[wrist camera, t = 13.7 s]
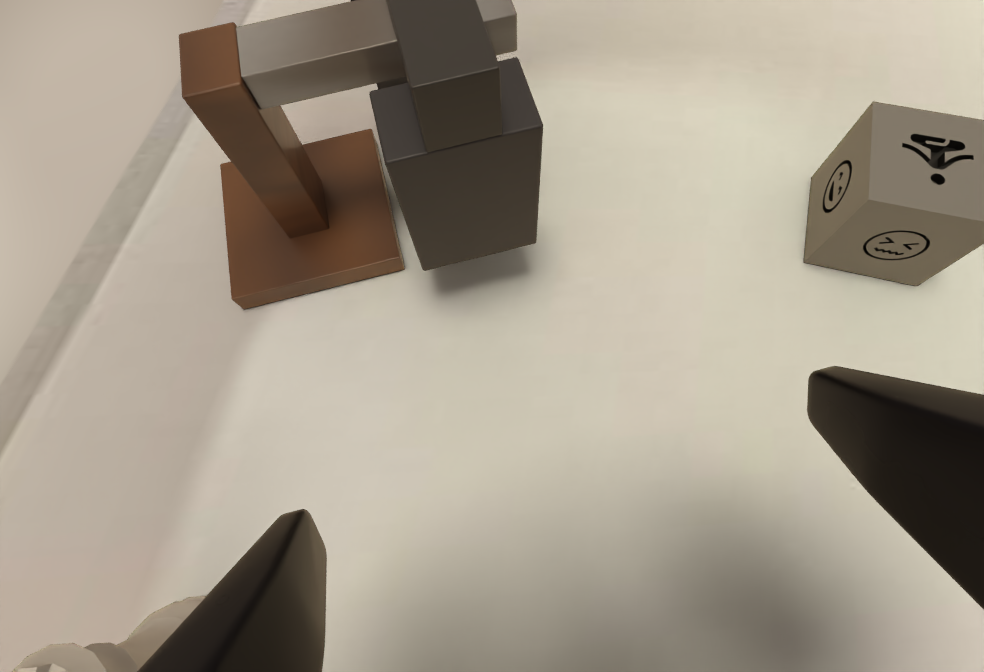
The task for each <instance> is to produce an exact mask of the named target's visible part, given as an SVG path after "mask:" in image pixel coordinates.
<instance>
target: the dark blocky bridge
mask: <svg viewBox="0 0 984 672" xmlns="http://www.w3.org/2000/svg"><path fill="white" fill-rule="evenodd" d="M351 1H355V0H351ZM386 1H387V5H388V9H389V13H390V17H391V20H392V24H393V28H394V32H395V35H396V39H397V43H398V47H399V51H400V54H401V58H402V62H403V66H404V70H405V73H406V76H405V77H401V78H396V79H392V80H388V81H383V82H379V83H377V87H378V90H374V91H371V92H370V94H369V95H370V99H371V104H372V108H373V112H374V117H375V121H376V126H377V130H378V134H379V139H380V143H381V148H382V152H383V157H384V161H385V165H386V167H387V170H388V173H389V176H390V179H391V181H392V184H393V187H394V190H395V193H396V196H397V198H398V201H399V204H400V207H401V210H402V212H403V215H404V218H405V221H406V224H407V227H408V229H409V232H410V235H411V238H412V241H413V243H414V246H415V249H416V252H417V255H418V258H419V260H420V263H421V266H422V269H423V270H424V271H426V270H430V269H434V268H438V267H442V266H446V265H450V264H454V263H458V262H462V261H466V260H470V259H474V258H478V257H482V256H486V255H490V254H494V253H498V252H502V251H506V250H510V249H514V248H518V247H522V246H526V245H530V244H534V243H536V237H537V220H538V203H539V186H540V169H541V152H542V135H543V124H542V121H541V118H540V116H539V113H538V110H537V108H536V105H535V102H534V100H533V97H532V94H531V92H530V89H529V86H528V84H527V81H526V78H525V76H524V73H523V70H522V68H521V65H520V62H519V60H518V58H511V59H507V60H503V61H497V58H496V55H495V52H494V50H493V47H492V44H491V41H490V38H489V35H488V33H487V30H486V27H485V24H484V21H483V18H482V16H481V13H480V10H479V7H478V4H477V1H476V0H386Z"/></svg>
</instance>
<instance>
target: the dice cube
mask: <svg viewBox="0 0 984 672" xmlns="http://www.w3.org/2000/svg"><path fill="white" fill-rule="evenodd" d="M982 244H984V120H980V119H974V118H968V117H962V116H956V115H950V114H944V113H938V112H932V111H927V110H921V109H915V108H909V107H903V106H897V105H891V104H885V103H879V102H872V103H871V105H870V106H869V107H868V108H867V110H866V111H865V112H864V113H863V115H862V116H861V117H860V118H859V120H858V121H857V122H856V123H855V124H854V126H853V127H852V128H851V129H850V131H849V132H848V133H847V134H846V136H845V137H844V138H843V139H842V141H841V142H840V143H839V144H838V145H837V147H836V148H835V149H834V150H833V152H832V153H831V154H830V155H829V157H828V158H827V159H826V160H825V161H824V163H823V164H822V165H821V166H820V168H819V169H818V170H817V171H816V173H815V174H814V175H813V176H812V178H811V189H810V200H809V211H808V222H807V233H806V244H805V255H804V262H805V263H809V264H814V265H819V266H824V267H828V268H833V269H838V270H843V271H847V272H852V273H857V274H861V275H866V276H871V277H876V278H880V279H885V280H890V281H895V282H899V283H904V284H909V285H914V286H918V285H919V284H921V283H923V282H924V281H926V280H927V279H929V278H930V277H932V276H934V275H935V274H937V273H938V272H940V271H942V270H943V269H945V268H946V267H948V266H949V265H951V264H953V263H954V262H956V261H957V260H959V259H960V258H962V257H964V256H965V255H967V254H968V253H970V252H971V251H973V250H975V249H976V248H978V247H979V246H981V245H982Z"/></svg>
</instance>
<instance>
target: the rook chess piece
mask: <svg viewBox="0 0 984 672" xmlns="http://www.w3.org/2000/svg"><path fill="white" fill-rule="evenodd" d="M205 597H206V596H200V597H188V598H186V599H184V600H182V601H178V602H173V603H171V604H170V605H168V606H166V607H164V608H162V609H160V610H158V611H156V612H154V613H152V614H151V615H149V616H148V617H147V618H146V619H145V620H144V621H143V622H142V623H141V624H140V625H139V626H138V627H137V628H136V629H135V630H134V631H133V632H132V633H131V635H130V636H129V638H128V639H127V640H126V641H124V642H122V643H120V644H118V645H114V644H112V643H97V644H91V645H89V646H87V647H85V648H83V647H81V646H79V645H77V644H74V643H68V644H54V645H49V646H47V647H45V648H43V649H41V650H39V651H37V652H35V653H33V654H31V655H29V656H27V657H26V658H25V659H24V660H23V661H22V662H21V663H20V664H19V665H18V666H17V667H16V668H15V669H14V670H13V671H12V672H137V671H138V670H139V669H140V668H141V667H142V666H143V665H144V663H145V662H146V661H147V660H148V659H149V658H150V657H151V656H152V655H153V654H154V653H155V652H156V650H157V649H158V648H159V647H160V646H161V645H162V644H163V643H164V642H165V641H166V640H167V638H168V637H169V636H170V635H171V634H172V633H173V632H174V631H175V630H176V629H177V628H178V627H179V625H180V624H181V623H182V622H183V621H184V620H185V619H186V618H187V617H188V616H189V615H190V614H191V612H192V611H193V610H194V609H195V608H196V607H197V606H198V605H199V604H200V603H201V602H202V600H203V599H204V598H205Z"/></svg>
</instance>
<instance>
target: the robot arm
mask: <svg viewBox="0 0 984 672" xmlns="http://www.w3.org/2000/svg"><path fill="white" fill-rule="evenodd" d="M807 412H808V416H809V419H810V421H811V423H812V425H813V426H814V427H815V429H816V430H817V431H818V432H819V433H820V435H821V436H822V437H823V438H824V440H825V441H826V442H827V443H828V444H829V446H830V447H831V448H832V449H833V451H834V452H835V453H836V454H837V455H838V457H839V458H840V459H841V460H842V462H843V463H844V464H845V465H846V466H847V468H848V469H849V470H850V471H851V473H852V474H853V475H854V476H855V478H856V479H857V480H858V481H859V482H860V484H861V485H862V486H863V487H864V488H865V489H866V490H867V492H868V493H869V494H870V495H871V496H872V497H873V498H874V499H875V500H876V501H877V502H878V503H879V504H880V505H881V506H882V507H883V508H884V509H885V510H886V511H887V512H888V513H889V514H890V515H891V517H892V518H893V519H894V520H895V521H896V522H897V523H898V524H899V525H900V526H901V527H902V528H903V529H904V530H905V531H906V532H907V533H908V534H909V535H910V536H911V537H912V538H913V539H914V540H915V541H916V542H917V543H918V544H919V545H920V546H921V547H922V548H923V549H924V550H925V551H926V552H927V553H928V554H929V555H930V556H931V557H932V558H933V559H934V560H935V561H936V562H937V563H938V564H939V565H940V566H941V567H942V568H943V569H944V570H945V571H946V572H947V573H948V574H949V575H950V576H951V577H952V578H953V579H954V580H955V581H956V582H957V583H958V584H959V585H960V586H961V587H962V588H963V589H964V590H965V591H966V592H967V593H968V594H969V595H970V596H971V597H972V598H973V599H974V600H975V601H976V602H977V603H978V604H979V605H980V606H981V607H982V608H983V609H984V395H982V394H977V393H971V392H966V391H961V390H956V389H951V388H946V387H941V386H936V385H931V384H925V383H920V382H915V381H910V380H905V379H900V378H895V377H890V376H884V375H879V374H874V373H869V372H864V371H859V370H854V369H849V368H844V367H838V366H832V367H828V368H824V369H821V370H817V371H814V372H813V373H811V375H810V377H809V381H808V406H807ZM326 565H327V556H326V549H325V545H324V543H323V540H322V538H321V536H320V534H319V532H318V530H317V527H316V525H315V523H314V521H313V519H312V517H311V515H310V513H309V512H308V511H307V510H305V509H301V510H297V511H293V512H290V513H286V514H283V515H281V516H280V517H279V518H278V519H277V520H276V521H275V522H274V523H273V524H272V525H271V526H270V528H269V529H268V530H267V531H266V532H265V533H264V534H263V535H262V536H261V537H260V538H259V540H258V541H257V542H256V543H255V544H254V545H253V546H252V547H251V548H250V549H249V550H248V552H247V553H246V554H245V555H244V556H243V557H242V558H241V559H240V560H239V561H238V562H237V563H236V565H235V566H234V567H233V568H232V569H231V570H230V571H229V572H228V573H227V574H226V575H225V577H224V578H223V579H222V580H221V581H220V582H219V583H218V584H217V585H216V586H215V587H214V588H213V590H212V591H211V592H210V593H209V594H208V595H207V596H206V597H205V598H204V599H203V600H202V602H201V603H200V604H199V605H198V606H197V607H196V608H195V609H194V610H193V611H192V612H191V614H190V615H189V616H188V617H187V618H186V619H185V620H184V621H183V622H182V623H181V624H180V625H179V627H178V628H177V629H176V630H175V631H174V632H173V633H172V634H171V635H170V636H169V637H168V638H167V640H166V641H165V642H164V643H163V644H162V645H161V646H160V647H159V648H158V649H157V650H156V652H155V653H154V654H153V655H152V656H151V657H150V658H149V659H148V660H147V661H146V662H145V663H144V665H143V666H142V667H141V668H140V669H139V670H138V671H137V672H322V666H323V657H324V647H325V619H326Z"/></svg>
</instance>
